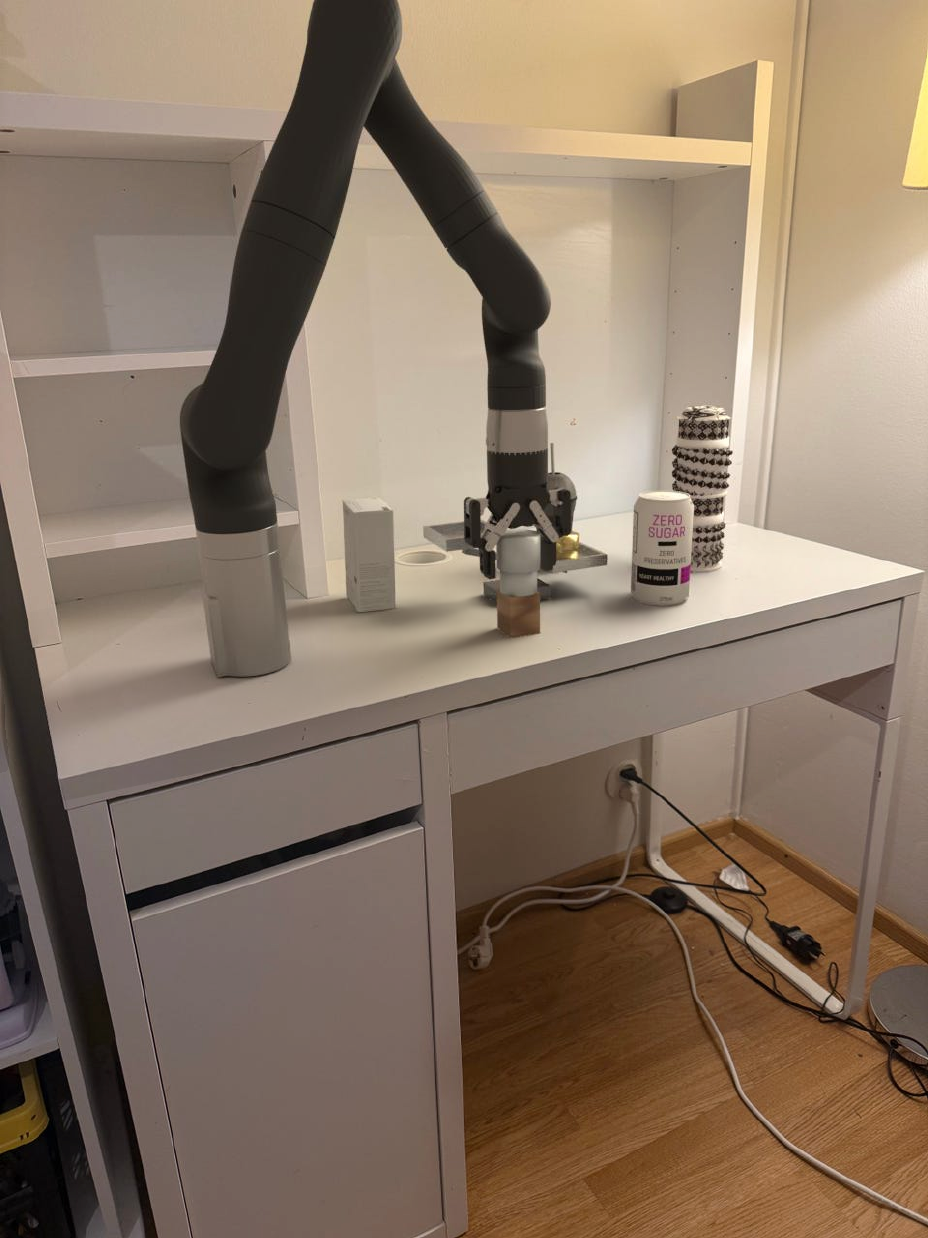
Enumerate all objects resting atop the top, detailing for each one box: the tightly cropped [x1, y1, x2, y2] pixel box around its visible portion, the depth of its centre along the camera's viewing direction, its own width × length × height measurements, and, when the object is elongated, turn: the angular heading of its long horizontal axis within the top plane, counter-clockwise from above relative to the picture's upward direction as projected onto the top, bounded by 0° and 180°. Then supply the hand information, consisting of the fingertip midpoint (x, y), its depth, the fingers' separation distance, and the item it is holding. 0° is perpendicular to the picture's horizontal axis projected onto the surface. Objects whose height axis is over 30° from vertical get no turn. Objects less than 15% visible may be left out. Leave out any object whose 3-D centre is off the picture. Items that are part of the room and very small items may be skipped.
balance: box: [422, 519, 609, 605], centre depth 127 cm, size 25×9×11 cm, turn 112°
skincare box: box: [342, 497, 397, 613], centre depth 126 cm, size 8×6×15 cm
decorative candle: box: [671, 405, 734, 573], centre depth 138 cm, size 9×9×25 cm
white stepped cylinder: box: [495, 528, 541, 596], centre depth 112 cm, size 6×6×8 cm
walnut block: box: [496, 588, 541, 639], centre depth 115 cm, size 4×4×6 cm
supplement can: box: [630, 489, 694, 607], centre depth 124 cm, size 8×8×15 cm
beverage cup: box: [535, 442, 578, 573], centre depth 140 cm, size 7×7×20 cm
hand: (518, 573), depth 113 cm, fingers open, 7 cm apart
